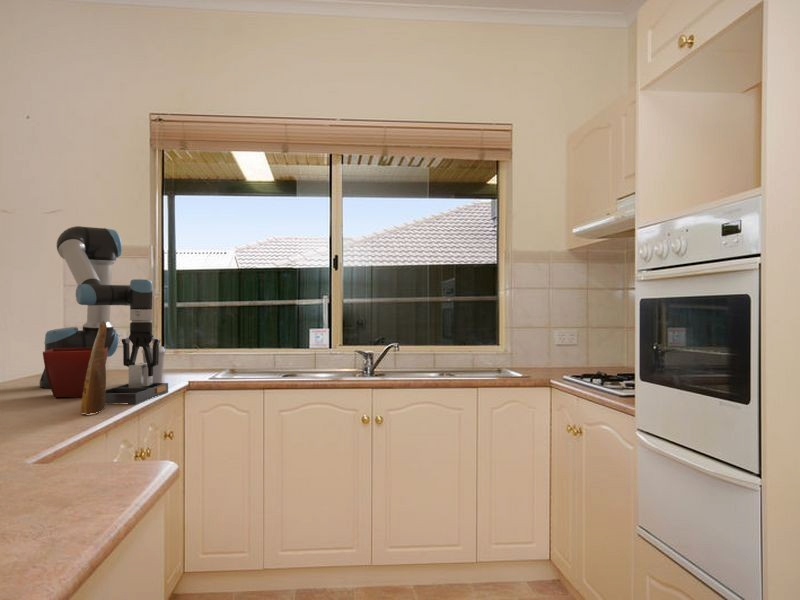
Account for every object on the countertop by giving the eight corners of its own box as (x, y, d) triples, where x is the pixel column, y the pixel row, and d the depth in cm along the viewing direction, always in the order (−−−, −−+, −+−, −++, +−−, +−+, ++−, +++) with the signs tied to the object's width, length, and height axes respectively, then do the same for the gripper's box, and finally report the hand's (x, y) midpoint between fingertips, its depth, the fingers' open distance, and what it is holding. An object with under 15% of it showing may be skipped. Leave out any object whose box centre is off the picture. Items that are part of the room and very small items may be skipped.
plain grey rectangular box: (128, 387, 219) (128, 365, 220) (140, 384, 229) (140, 362, 230) (141, 388, 219) (141, 365, 219) (152, 384, 229) (152, 363, 229)
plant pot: (51, 393, 228) (51, 347, 228) (108, 390, 235) (108, 346, 235) (41, 400, 210) (41, 351, 210) (103, 398, 217) (103, 350, 217)
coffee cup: (136, 382, 258) (136, 347, 258) (154, 380, 266) (155, 345, 266) (152, 384, 253) (152, 348, 254) (170, 381, 262) (170, 346, 262)
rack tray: (92, 404, 204) (92, 393, 204) (129, 392, 232) (129, 382, 232) (136, 404, 204) (136, 393, 204) (169, 392, 232) (169, 383, 232)
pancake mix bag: (113, 406, 201) (113, 320, 201) (101, 416, 182) (102, 322, 182) (90, 406, 199) (91, 320, 199) (76, 417, 180) (77, 322, 181)
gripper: (112, 321, 221) (112, 386, 221) (160, 321, 221) (160, 386, 221) (122, 321, 229) (121, 383, 228) (169, 321, 228) (168, 384, 228)
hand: (140, 385), depth 224 cm, fingers closed on plain grey rectangular box, 4 cm apart
